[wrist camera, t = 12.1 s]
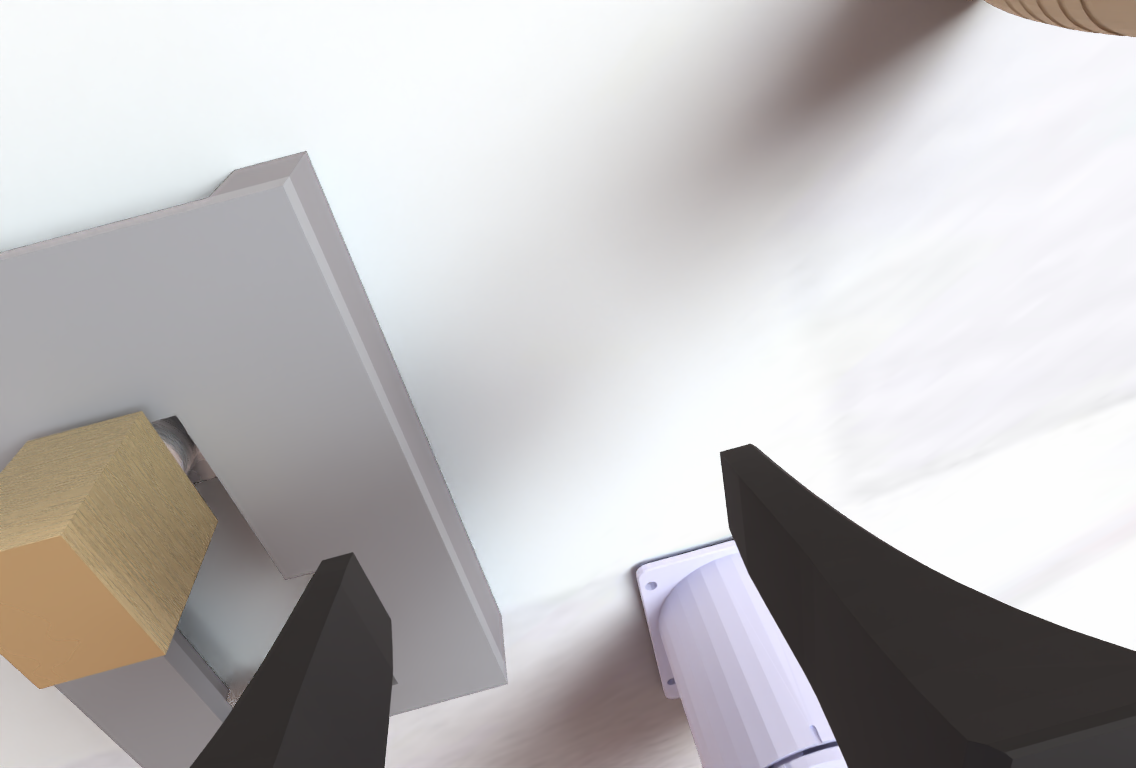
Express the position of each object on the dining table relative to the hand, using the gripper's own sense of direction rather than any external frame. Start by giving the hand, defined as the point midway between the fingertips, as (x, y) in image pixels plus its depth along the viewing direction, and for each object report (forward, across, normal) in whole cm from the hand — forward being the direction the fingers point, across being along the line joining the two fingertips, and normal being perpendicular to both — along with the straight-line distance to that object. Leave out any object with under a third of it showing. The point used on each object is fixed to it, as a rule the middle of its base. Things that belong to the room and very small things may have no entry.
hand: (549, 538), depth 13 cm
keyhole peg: (+10, +11, 0) cm, 15 cm away
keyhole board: (+10, +11, +4) cm, 16 cm away
